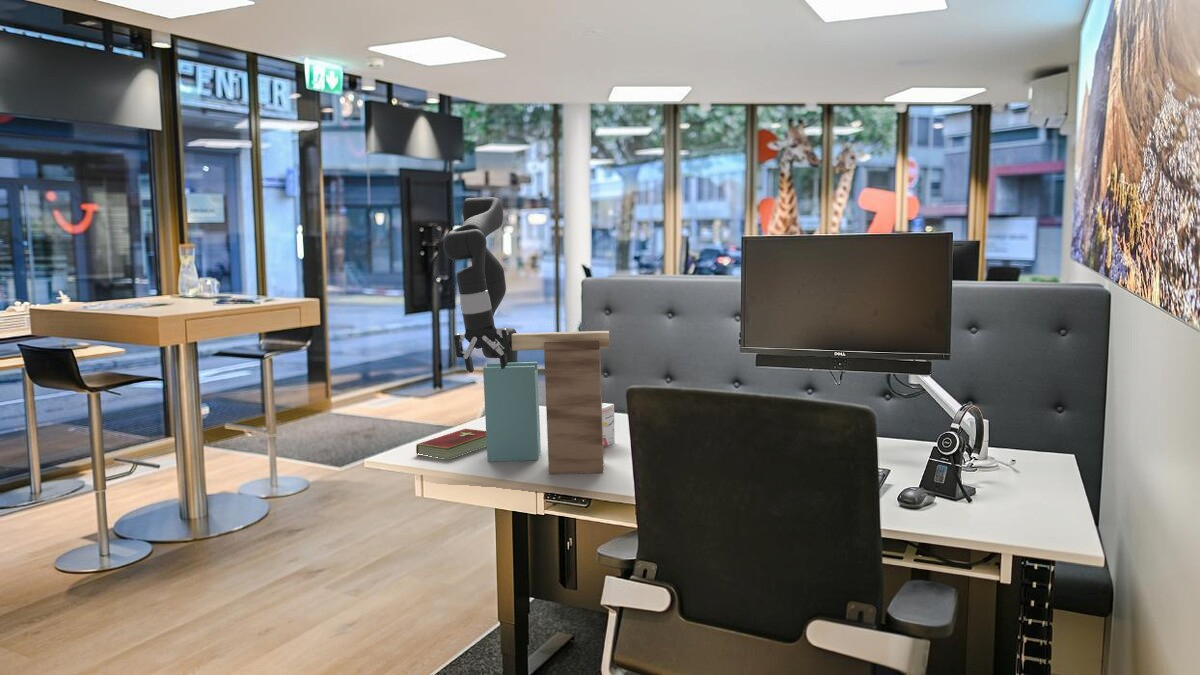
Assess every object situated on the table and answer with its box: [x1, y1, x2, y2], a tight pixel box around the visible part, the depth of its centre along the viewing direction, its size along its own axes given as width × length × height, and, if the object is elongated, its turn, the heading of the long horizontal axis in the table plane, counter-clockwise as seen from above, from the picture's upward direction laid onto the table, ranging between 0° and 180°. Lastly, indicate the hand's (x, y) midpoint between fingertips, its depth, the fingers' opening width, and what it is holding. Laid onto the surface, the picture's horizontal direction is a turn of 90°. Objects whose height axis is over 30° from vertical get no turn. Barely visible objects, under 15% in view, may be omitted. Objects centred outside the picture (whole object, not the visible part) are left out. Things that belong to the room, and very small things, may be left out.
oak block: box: [512, 330, 610, 352], centre depth 223 cm, size 4×25×4 cm, turn 89°
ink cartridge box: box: [602, 402, 616, 449], centre depth 250 cm, size 9×5×15 cm, turn 149°
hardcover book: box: [415, 428, 487, 460], centre depth 251 cm, size 12×21×4 cm, turn 148°
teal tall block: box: [482, 361, 542, 462], centre depth 239 cm, size 8×14×26 cm, turn 89°
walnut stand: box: [543, 341, 605, 475], centre depth 225 cm, size 10×14×34 cm
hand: (487, 370), depth 222 cm, fingers open, 8 cm apart
